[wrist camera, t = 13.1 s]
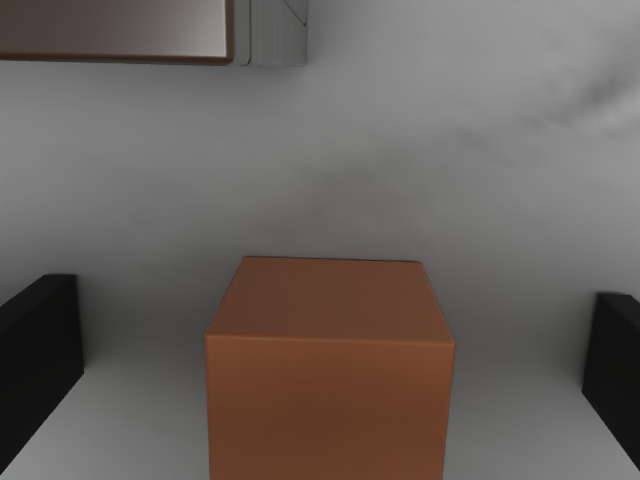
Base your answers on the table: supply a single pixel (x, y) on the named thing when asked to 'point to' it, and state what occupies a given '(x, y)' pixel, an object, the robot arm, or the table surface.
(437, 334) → the block
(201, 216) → the table surface
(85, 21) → the cabinet
